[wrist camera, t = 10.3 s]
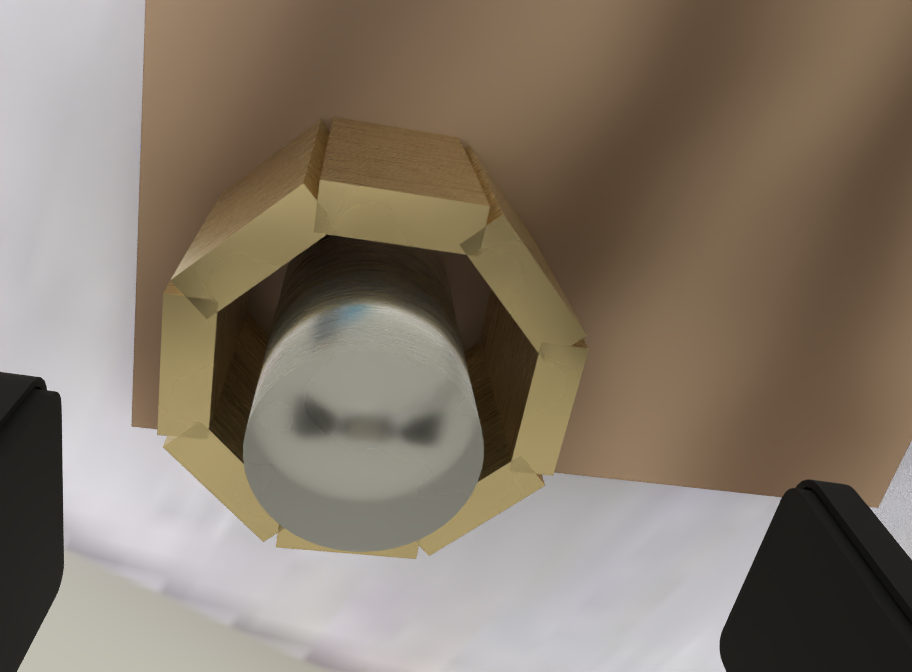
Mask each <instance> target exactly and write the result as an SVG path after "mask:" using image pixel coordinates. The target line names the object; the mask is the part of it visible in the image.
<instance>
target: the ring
mask: <svg viewBox="0 0 912 672" xmlns="http://www.w3.org/2000/svg"><path fill="white" fill-rule="evenodd" d="M327 234H328V235H335V236H342V237H349V238H356V239H363V240H369V241H376V242H383V243H390V244H397V245H404V246H411V247H417V248H424V249H431V250H438V251H445V252H452V253H458V254H465V255H467V256H468V257H469V259H470V260H471V261H472V263H473V264H474V266H475V267H476V268H477V270H478V271H479V272H480V274H481V275H482V276H483V278H484V279H485V281H486V282H487V283H488V285H489V286H490V287H491V290H490V294H489V299H488V303H487V308H486V312H485V317H484V322H483V326H482V331H481V335H480V340H479V342H478V343H477V344H475V345H474V346H472V347H471V348H469V349H467V350H466V351H464V354H465V359H466V363H467V368H468V372H469V376H470V381H471V385H472V390H473V394H474V398H475V403H476V407H477V412H478V416H479V420H480V425H481V429H482V435H483V442H484V458H483V464H482V470H481V473H480V476H479V479H478V482H477V484H476V487H475V489H474V491H473V493H472V494H471V496H470V497H469V499H468V500H467V502H466V503H465V505H464V506H463V507H462V508H461V509H460V511H459V512H458V513H457V514H456V515H455V516H454V517H453V518H452V519H451V520H449V521H448V522H447V523H446V524H445V525H443V526H442V527H440V528H439V529H438V530H436V531H435V532H433V533H431V534H429V535H427V536H426V537H424V538H422V539H420V540H417V541H415V542H412V543H410V544H407V545H404V546H400V547H396V548H393V549H387V550H381V551H370V552H353V551H343V550H336V549H331V548H327V547H323V546H320V545H317V544H314V543H311V542H309V541H306V540H304V539H302V538H300V537H298V536H296V535H294V534H293V533H291V532H290V531H288V530H287V529H285V528H284V527H282V526H281V525H280V524H279V523H277V522H276V521H275V520H274V519H273V518H272V517H271V516H270V515H269V514H268V513H267V512H266V511H265V510H264V509H263V507H262V506H261V505H260V503H259V502H258V500H257V499H256V497H255V496H254V494H253V492H252V489H251V487H250V485H249V483H248V480H247V476H246V473H245V469H244V461H243V443H244V437H245V432H246V428H247V424H248V420H249V416H250V412H251V408H252V404H253V400H254V396H255V392H256V388H257V384H258V380H259V376H260V372H261V369H262V365H263V361H264V357H265V353H266V349H267V345H268V341H269V337H270V336H269V335H268V334H267V333H266V332H265V331H264V330H263V329H262V328H261V326H260V325H259V324H258V323H257V322H256V321H255V320H254V319H253V318H252V316H251V315H250V314H249V313H248V301H249V290H250V289H251V288H252V287H254V286H255V285H256V284H258V283H259V282H261V281H262V280H263V279H265V278H266V277H268V276H269V275H271V274H272V273H273V272H275V271H276V270H278V269H279V268H280V267H282V266H283V265H285V264H286V263H287V262H289V261H290V260H292V259H293V258H295V257H296V256H297V255H299V254H300V253H302V252H303V251H304V250H306V249H307V248H309V247H310V246H311V245H313V244H314V243H316V242H317V241H318V240H320V239H321V238H323V237H324V236H326V235H327ZM586 336H587V335H586V333H585V331H584V329H583V328H582V326H581V324H580V322H579V320H578V318H577V317H576V315H575V313H574V311H573V309H572V307H571V306H570V304H569V302H568V300H567V298H566V297H565V295H564V293H563V291H562V289H561V287H560V286H559V284H558V282H557V280H556V278H555V276H554V275H553V273H552V271H551V269H550V267H549V265H548V264H547V262H546V260H545V258H544V256H543V255H542V253H541V251H540V249H539V247H538V245H537V244H536V242H535V240H534V238H533V237H532V236H531V234H530V233H529V231H528V230H527V228H526V227H525V225H524V224H523V222H522V221H521V219H520V218H519V216H518V215H517V214H516V212H515V211H514V209H513V208H512V206H511V205H510V203H509V202H508V200H507V199H506V197H505V196H504V194H503V193H502V191H501V190H500V189H499V187H498V186H497V184H496V183H495V181H494V180H493V178H492V177H491V175H490V174H489V172H488V171H487V169H486V168H485V167H484V165H483V164H482V162H481V161H480V159H479V158H478V156H477V155H476V153H475V152H474V150H473V149H472V147H471V146H470V144H469V145H467V146H466V147H465V148H464V147H463V145H462V143H461V141H460V139H459V138H458V137H452V136H446V135H440V134H434V133H429V132H423V131H417V130H411V129H405V128H399V127H393V126H387V125H381V124H375V123H370V122H364V121H358V120H352V119H346V118H340V117H334V116H333V120H332V125H331V129H330V130H329V129H328V128H327V126H326V125H325V124H324V122H323V121H322V120H319V121H318V122H316V123H315V124H314V125H312V126H311V127H310V128H308V129H307V130H306V131H304V132H303V133H302V134H300V135H299V136H298V137H296V138H295V139H294V140H292V141H291V142H290V143H288V144H287V145H285V146H284V147H283V148H281V149H280V150H279V151H277V152H276V153H275V154H273V155H272V156H271V157H269V158H268V159H267V160H265V161H264V162H263V163H261V164H260V165H258V166H257V167H256V168H254V169H253V170H252V171H250V172H249V173H248V174H246V175H245V176H244V177H242V178H241V179H240V180H238V181H237V182H236V183H234V184H233V185H232V186H230V187H229V188H227V189H226V190H225V191H223V192H222V193H221V195H220V196H219V198H218V200H217V202H216V203H215V205H214V207H213V208H212V210H211V212H210V213H209V215H208V217H207V219H206V220H205V222H204V224H203V225H202V227H201V229H200V230H199V232H198V234H197V236H196V237H195V239H194V241H193V242H192V244H191V246H190V247H189V249H188V251H187V253H186V254H185V256H184V258H183V259H182V261H181V263H180V264H179V266H178V268H177V270H176V271H175V273H174V275H173V276H172V278H171V280H170V282H169V284H168V286H167V288H166V289H165V291H164V293H163V309H162V333H161V357H160V381H159V405H158V430H157V435H165V436H167V438H166V440H165V443H164V445H163V448H164V449H165V450H167V451H168V452H169V453H170V454H171V455H172V456H173V457H174V458H175V459H176V460H177V461H178V462H179V463H180V464H181V465H182V466H183V467H185V468H186V469H187V470H188V471H189V472H190V473H191V474H192V475H193V476H194V477H195V478H196V479H197V480H198V481H199V482H200V483H201V484H203V485H204V486H205V487H206V488H207V489H208V490H209V491H210V492H211V493H212V494H213V495H214V496H215V497H216V498H217V499H218V500H220V501H221V502H222V503H223V504H224V505H225V506H226V507H227V508H228V509H229V510H230V511H231V512H232V513H233V514H234V515H235V516H236V517H238V518H239V519H240V520H241V521H242V522H243V523H244V524H245V525H246V526H247V527H248V528H249V529H250V530H251V531H252V532H253V533H254V534H256V535H257V536H258V537H259V538H260V539H261V540H262V541H263V542H264V541H266V540H267V539H269V538H270V537H272V536H274V535H275V534H277V533H278V535H277V543H276V547H279V548H291V549H303V550H315V551H327V552H339V553H351V554H363V555H375V556H387V557H399V558H411V559H416V556H417V551H418V547H419V546H420V547H421V548H422V549H423V550H424V551H425V552H426V553H427V554H428V555H429V556H430V555H431V554H433V553H435V552H436V551H438V550H440V549H441V548H443V547H445V546H446V545H448V544H450V543H451V542H453V541H455V540H456V539H458V538H459V537H461V536H463V535H464V534H466V533H468V532H469V531H471V530H473V529H474V528H476V527H478V526H479V525H481V524H483V523H484V522H486V521H487V520H489V519H491V518H492V517H494V516H496V515H497V514H499V513H501V512H502V511H504V510H506V509H507V508H509V507H511V506H512V505H514V504H516V503H517V502H519V501H520V500H522V499H524V498H525V497H527V496H529V495H530V494H532V493H534V492H535V491H537V490H539V489H540V488H542V487H544V486H545V484H544V481H543V477H542V474H543V475H553V474H554V471H555V467H556V464H557V460H558V457H559V453H560V450H561V446H562V442H563V439H564V435H565V432H566V428H567V425H568V421H569V418H570V414H571V411H572V407H573V403H574V400H575V396H576V393H577V389H578V386H579V382H580V379H581V375H582V372H583V368H584V364H585V361H586V357H587V354H588V350H589V348H588V346H587V344H586V342H585V340H584V339H583V338H584V337H586Z"/></svg>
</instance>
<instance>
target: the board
mask: <svg viewBox="0 0 912 672" xmlns="http://www.w3.org/2000/svg"><path fill="white" fill-rule="evenodd" d="M333 116H334V117H340V118H346V119H352V120H358V121H364V122H370V123H375V124H381V125H387V126H393V127H399V128H405V129H411V130H417V131H423V132H429V133H434V134H440V135H446V136H452V137H458V138H459V139H460V141H461V143H462V145H463V147H464V148H465V147H466V146H467V145H469V144H470V146H471V147H472V149H473V150H474V152H475V153H476V155H477V156H478V158H479V159H480V161H481V162H482V164H483V165H484V167H485V168H486V169H487V171H488V172H489V174H490V175H491V177H492V178H493V180H494V181H495V183H496V184H497V186H498V187H499V189H500V190H501V191H502V193H503V194H504V196H505V197H506V199H507V200H508V202H509V203H510V205H511V206H512V208H513V209H514V211H515V212H516V214H517V215H518V216H519V218H520V219H521V221H522V222H523V224H524V225H525V227H526V228H527V230H528V231H529V233H530V234H531V236H532V237H533V238H534V240H535V242H536V244H537V245H538V247H539V249H540V251H541V253H542V255H543V256H544V258H545V260H546V262H547V264H548V265H549V267H550V269H551V271H552V273H553V275H554V276H555V278H556V280H557V282H558V284H559V286H560V287H561V289H562V291H563V293H564V295H565V297H566V298H567V300H568V302H569V304H570V306H571V307H572V309H573V311H574V313H575V315H576V317H577V318H578V320H579V322H580V324H581V326H582V328H583V329H584V331H585V333H586V335H587V336H586V337H584V338H583V339H584V340H585V342H586V344H587V346H588V348H589V350H588V354H587V357H586V361H585V364H584V368H583V372H582V375H581V379H580V382H579V386H578V389H577V393H576V396H575V400H574V403H573V407H572V411H571V414H570V418H569V421H568V425H567V428H566V432H565V435H564V439H563V442H562V446H561V450H560V453H559V457H558V460H557V464H556V467H555V471H554V472H555V473H564V474H574V475H583V476H592V477H601V478H610V479H619V480H629V481H638V482H647V483H656V484H665V485H675V486H684V487H693V488H702V489H711V490H721V491H730V492H739V493H748V494H757V495H766V496H776V497H783V495H784V493H785V492H786V491H787V490H788V489H791V488H796V486H797V485H798V484H799V483H800V482H801V481H803V480H807V479H810V480H818V481H825V482H833V483H841V484H846V485H849V486H851V487H852V488H853V489H854V490H855V491H856V492H857V493H858V494H859V496H860V497H861V498H862V499H863V500H864V502H865V503H866V504H867V505H868V507H877V508H878V507H879V505H880V503H881V501H882V499H883V497H884V495H885V493H886V491H887V489H888V486H889V484H890V482H891V480H892V478H893V476H894V474H895V472H896V470H897V468H898V466H899V464H900V462H901V460H902V458H903V456H904V454H905V452H906V450H907V448H908V446H909V444H910V442H911V440H912V0H146V4H145V34H144V65H143V95H142V125H141V156H140V186H139V217H138V247H137V278H136V308H135V338H134V369H133V399H132V427H142V428H151V429H158V405H159V381H160V357H161V333H162V309H163V293H164V291H165V289H166V288H167V286H168V284H169V282H170V280H171V278H172V276H173V275H174V273H175V271H176V270H177V268H178V266H179V264H180V263H181V261H182V259H183V258H184V256H185V254H186V253H187V251H188V249H189V247H190V246H191V244H192V242H193V241H194V239H195V237H196V236H197V234H198V232H199V230H200V229H201V227H202V225H203V224H204V222H205V220H206V219H207V217H208V215H209V213H210V212H211V210H212V208H213V207H214V205H215V203H216V202H217V200H218V198H219V196H220V195H221V193H222V192H223V191H225V190H226V189H227V188H229V187H230V186H232V185H233V184H234V183H236V182H237V181H238V180H240V179H241V178H242V177H244V176H245V175H246V174H248V173H249V172H250V171H252V170H253V169H254V168H256V167H257V166H258V165H260V164H261V163H263V162H264V161H265V160H267V159H268V158H269V157H271V156H272V155H273V154H275V153H276V152H277V151H279V150H280V149H281V148H283V147H284V146H285V145H287V144H288V143H290V142H291V141H292V140H294V139H295V138H296V137H298V136H299V135H300V134H302V133H303V132H304V131H306V130H307V129H308V128H310V127H311V126H312V125H314V124H315V123H316V122H318V121H319V120H322V121H323V122H324V124H325V125H326V126H327V128H328V129H329V130H330V129H331V125H332V120H333ZM439 252H440V254H441V256H442V260H443V263H444V266H445V271H446V275H447V280H448V284H449V288H450V293H451V297H452V302H453V306H454V310H455V315H456V319H457V324H458V328H459V332H460V337H461V341H462V346H463V350H464V351H466V350H467V349H469V348H471V347H472V346H474V345H475V344H477V343H478V342H479V340H480V335H481V331H482V326H483V322H484V317H485V312H486V308H487V303H488V299H489V294H490V290H491V287H490V286H489V285H488V283H487V282H486V281H485V279H484V278H483V276H482V275H481V274H480V272H479V271H478V270H477V268H476V267H475V266H474V264H473V263H472V261H471V260H470V259H469V257H468V256H467V255H465V254H458V253H452V252H445V251H439ZM287 266H288V262H287V263H286V264H285V265H283V266H282V267H280V268H279V269H278V270H276V271H275V272H273V273H272V274H271V275H269V276H268V277H266V278H265V279H263V280H262V281H261V282H259V283H258V284H256V285H255V286H254V287H252V288H251V289H250V290H249V301H248V313H249V314H250V315H251V316H252V318H253V319H254V320H255V321H256V322H257V323H258V324H259V325H260V326H261V328H262V329H263V330H264V331H265V332H266V333H267V334H268V335H269V336H270V333H271V329H272V325H273V321H274V317H275V313H276V309H277V306H278V302H279V298H280V294H281V290H282V286H283V282H284V278H285V274H286V270H287Z"/></svg>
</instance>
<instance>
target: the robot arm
mask: <svg viewBox="0 0 912 672" xmlns="http://www.w3.org/2000/svg"><path fill="white" fill-rule="evenodd" d="M63 569H64V539H63V474H62V409H61V397H60V394H59V393H58V392H55V391H47V387H46V384H45V381H44V380H43V379H42V378H41V377H34V376H26V375H19V374H11V373H4V372H0V672H17V670H18V668H19V666H20V664H21V662H22V660H23V659H24V657H25V655H26V653H27V651H28V649H29V647H30V645H31V643H32V641H33V639H34V638H35V636H36V634H37V632H38V630H39V628H40V625H41V624H42V622H43V620H44V618H45V616H46V614H47V613H48V610H49V609H50V607H51V605H52V603H53V601H54V599H55V597H56V594H57V593H58V590H59V587H60V584H61V580H62V575H63ZM720 655H721V659H722V662H723V665H724V667H725V669H726V672H912V560H911V559H910V557H909V556H908V555H907V554H906V552H905V551H904V550H903V549H902V548H901V546H900V545H899V544H898V543H897V541H896V540H895V539H894V538H893V536H892V535H891V534H890V533H889V531H888V530H887V529H886V528H885V526H884V525H883V524H882V523H881V522H880V520H879V519H878V518H877V517H876V515H875V514H874V513H873V512H872V510H871V509H870V508H869V507H868V505H867V504H866V503H865V502H864V500H863V499H862V498H861V497H860V496H859V494H858V493H857V492H856V491H855V490H854V489H853V488H852V487H851V486H849V485H846V484H841V483H833V482H825V481H818V480H810V479H807V480H803V481H801V482H800V483H799V484H798V485H797V486H796V488H791V489H788V490H787V491H786V492H785V493H784V495H783V497H782V499H781V501H780V503H779V505H778V508H777V510H776V512H775V514H774V517H773V519H772V521H771V523H770V526H769V528H768V530H767V532H766V534H765V537H764V539H763V541H762V543H761V546H760V548H759V550H758V552H757V555H756V557H755V559H754V561H753V564H752V566H751V568H750V570H749V572H748V575H747V577H746V579H745V581H744V584H743V586H742V588H741V590H740V593H739V595H738V597H737V599H736V601H735V604H734V606H733V608H732V610H731V613H730V615H729V617H728V619H727V622H726V624H725V626H724V628H723V630H722V633H721V637H720Z"/></svg>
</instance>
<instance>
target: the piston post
mask: <svg viewBox="0 0 912 672" xmlns="http://www.w3.org/2000/svg"><path fill="white" fill-rule="evenodd" d="M483 458H484V442H483V435H482V429H481V425H480V420H479V416H478V412H477V407H476V403H475V398H474V394H473V390H472V385H471V381H470V376H469V372H468V368H467V363H466V359H465V354H464V350H463V346H462V341H461V337H460V332H459V328H458V324H457V319H456V315H455V310H454V306H453V302H452V297H451V293H450V288H449V284H448V280H447V275H446V271H445V266H444V263H443V260H442V256H441V254H440V252H439V251H438V250H431V249H424V248H417V247H411V246H404V245H397V244H390V243H383V242H376V241H369V240H363V239H356V238H349V237H342V236H335V235H328V234H327V235H326V236H324V237H323V238H321V239H320V240H318V241H317V242H316V243H314V244H313V245H311V246H310V247H309V248H307V249H306V250H304V251H303V252H302V253H300V254H299V255H297V256H296V257H295V258H293V259H292V260H290V261H289V262H288V266H287V270H286V274H285V278H284V282H283V286H282V290H281V294H280V298H279V302H278V306H277V309H276V313H275V317H274V321H273V325H272V329H271V333H270V337H269V341H268V345H267V349H266V353H265V357H264V361H263V365H262V369H261V372H260V376H259V380H258V384H257V388H256V392H255V396H254V400H253V404H252V408H251V412H250V416H249V420H248V424H247V428H246V432H245V437H244V443H243V461H244V469H245V473H246V476H247V480H248V483H249V485H250V487H251V489H252V492H253V494H254V496H255V497H256V499H257V500H258V502H259V503H260V505H261V506H262V507H263V509H264V510H265V511H266V512H267V513H268V514H269V515H270V516H271V517H272V518H273V519H274V520H275V521H276V522H277V523H279V524H280V525H281V526H282V527H284V528H285V529H287V530H288V531H290V532H291V533H293V534H294V535H296V536H298V537H300V538H302V539H304V540H306V541H309V542H311V543H314V544H317V545H320V546H323V547H327V548H331V549H336V550H343V551H353V552H370V551H381V550H387V549H393V548H396V547H400V546H404V545H407V544H410V543H412V542H415V541H417V540H420V539H422V538H424V537H426V536H427V535H429V534H431V533H433V532H435V531H436V530H438V529H439V528H440V527H442V526H443V525H445V524H446V523H447V522H448V521H449V520H451V519H452V518H453V517H454V516H455V515H456V514H457V513H458V512H459V511H460V509H461V508H462V507H463V506H464V505H465V503H466V502H467V500H468V499H469V497H470V496H471V494H472V493H473V491H474V489H475V487H476V484H477V482H478V479H479V476H480V473H481V470H482V464H483Z"/></svg>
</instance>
